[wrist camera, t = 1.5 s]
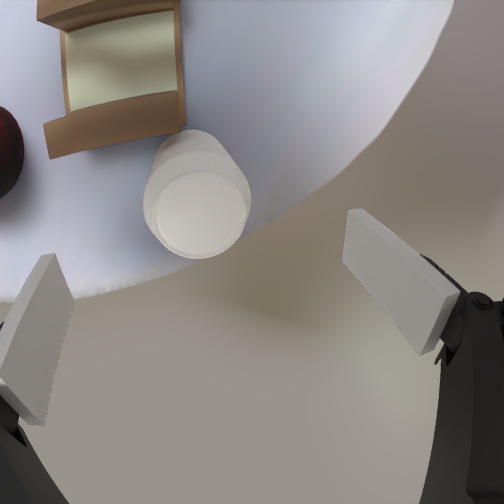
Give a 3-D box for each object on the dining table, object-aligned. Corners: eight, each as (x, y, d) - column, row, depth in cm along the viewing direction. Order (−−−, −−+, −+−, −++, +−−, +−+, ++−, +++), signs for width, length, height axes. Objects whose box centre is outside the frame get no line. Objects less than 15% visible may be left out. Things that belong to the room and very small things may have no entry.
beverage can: (140, 171, 25) (117, 234, 15) (183, 113, 23) (187, 133, 13) (196, 207, 28) (212, 286, 18) (239, 154, 26) (282, 204, 16)
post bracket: (64, 8, 15) (32, -10, 9) (179, -16, 17) (180, -48, 11) (74, 144, 22) (44, 164, 16) (186, 123, 23) (188, 135, 18)
